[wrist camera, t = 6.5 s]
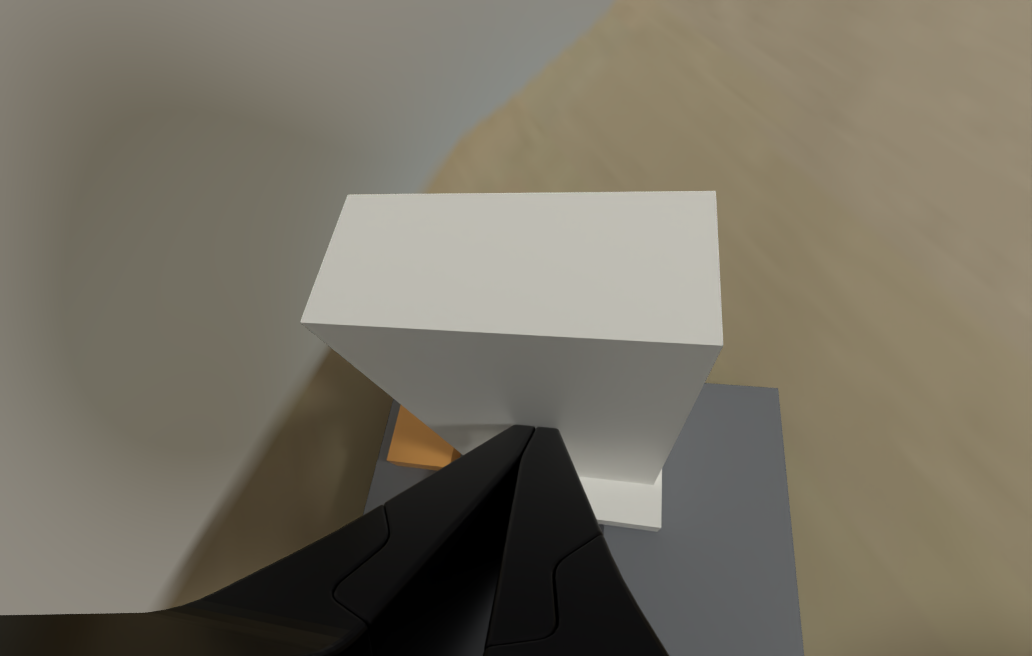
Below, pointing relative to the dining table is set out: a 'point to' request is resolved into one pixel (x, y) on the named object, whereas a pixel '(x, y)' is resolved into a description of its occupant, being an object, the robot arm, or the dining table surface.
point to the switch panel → (682, 525)
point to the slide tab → (534, 321)
